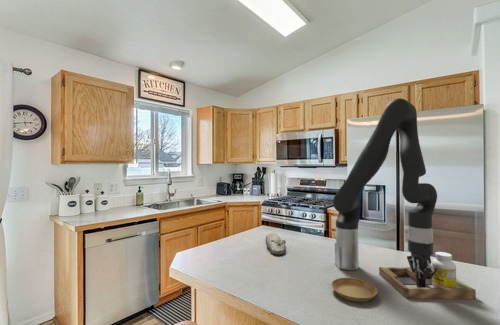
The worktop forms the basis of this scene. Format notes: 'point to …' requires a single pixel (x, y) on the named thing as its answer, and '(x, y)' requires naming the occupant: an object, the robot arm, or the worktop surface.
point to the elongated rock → (275, 244)
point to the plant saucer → (354, 289)
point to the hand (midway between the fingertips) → (421, 288)
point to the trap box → (406, 276)
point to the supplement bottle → (444, 271)
